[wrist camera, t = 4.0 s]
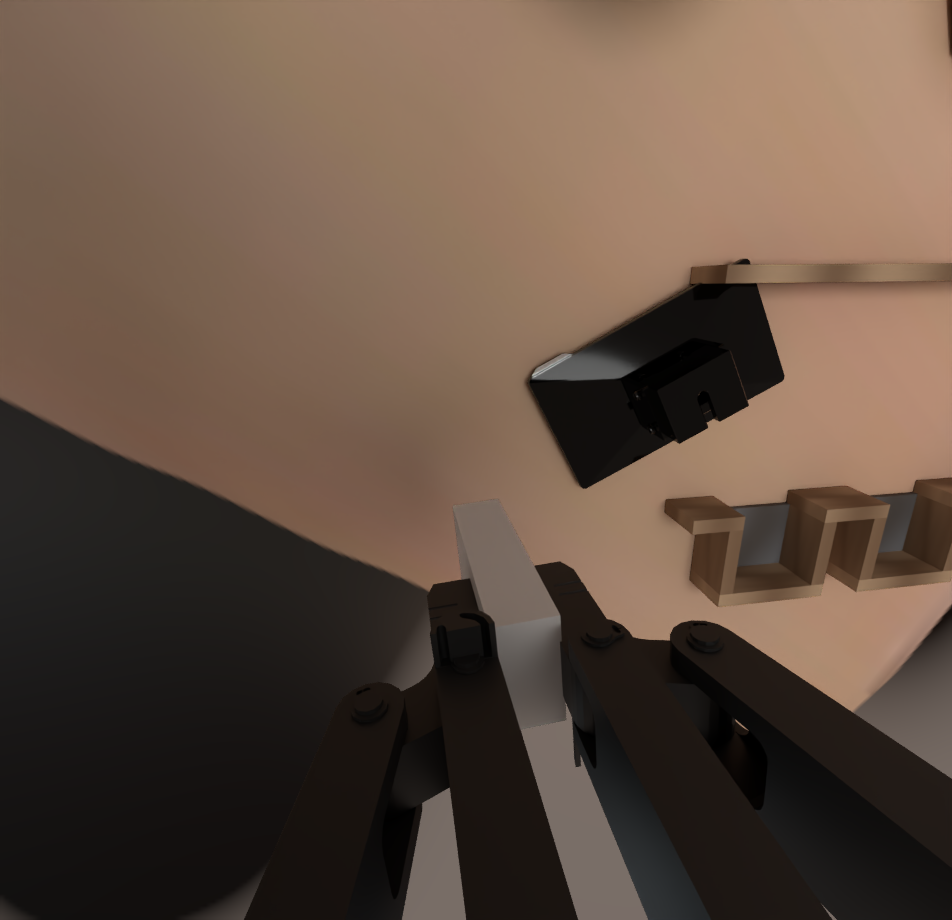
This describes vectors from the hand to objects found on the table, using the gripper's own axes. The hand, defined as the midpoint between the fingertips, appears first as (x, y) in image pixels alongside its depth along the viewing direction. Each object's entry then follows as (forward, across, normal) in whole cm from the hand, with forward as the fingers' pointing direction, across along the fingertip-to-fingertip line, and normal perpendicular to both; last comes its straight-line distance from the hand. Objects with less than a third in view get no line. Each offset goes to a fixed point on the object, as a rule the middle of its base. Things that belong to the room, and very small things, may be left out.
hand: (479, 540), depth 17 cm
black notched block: (+13, +12, +2) cm, 18 cm away
